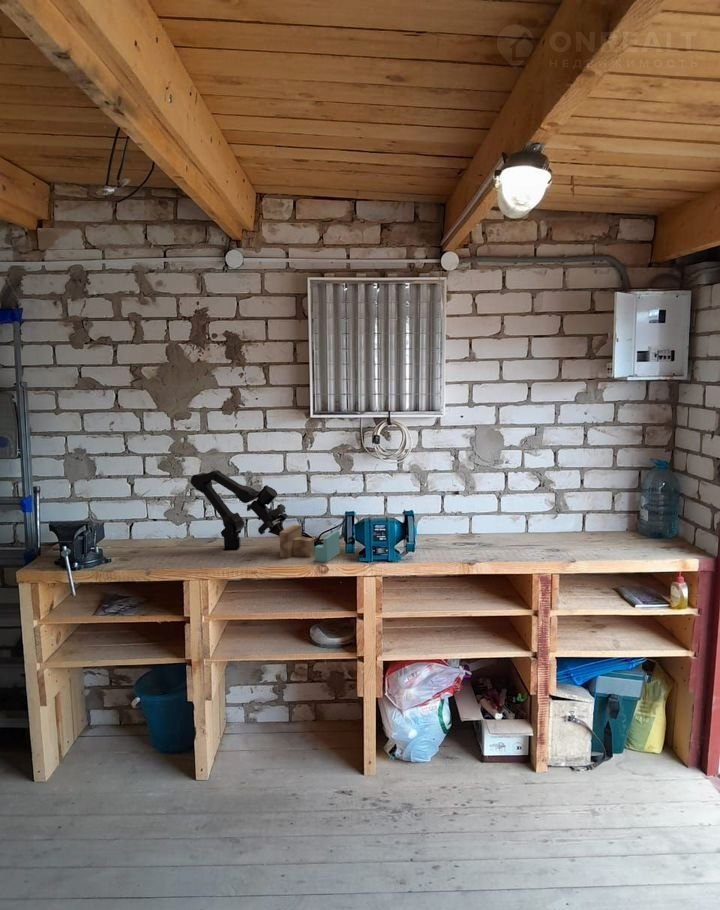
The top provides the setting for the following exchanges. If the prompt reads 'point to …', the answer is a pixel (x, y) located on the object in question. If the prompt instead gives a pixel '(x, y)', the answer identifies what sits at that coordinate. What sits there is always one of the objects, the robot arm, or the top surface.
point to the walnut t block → (295, 543)
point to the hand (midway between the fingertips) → (286, 537)
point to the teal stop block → (328, 548)
